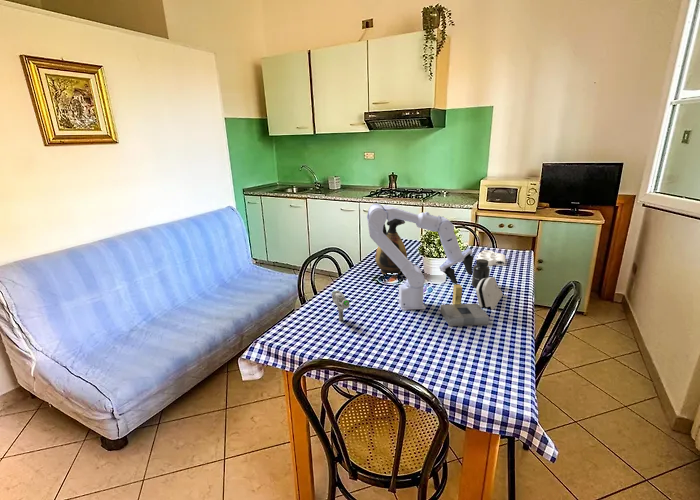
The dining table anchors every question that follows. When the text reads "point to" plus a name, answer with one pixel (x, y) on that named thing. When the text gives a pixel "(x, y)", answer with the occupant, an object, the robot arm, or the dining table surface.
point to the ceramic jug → (381, 257)
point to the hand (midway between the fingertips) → (462, 278)
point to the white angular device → (488, 292)
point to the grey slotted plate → (464, 314)
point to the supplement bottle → (480, 271)
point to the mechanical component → (340, 302)
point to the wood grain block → (457, 294)
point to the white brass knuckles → (492, 257)
